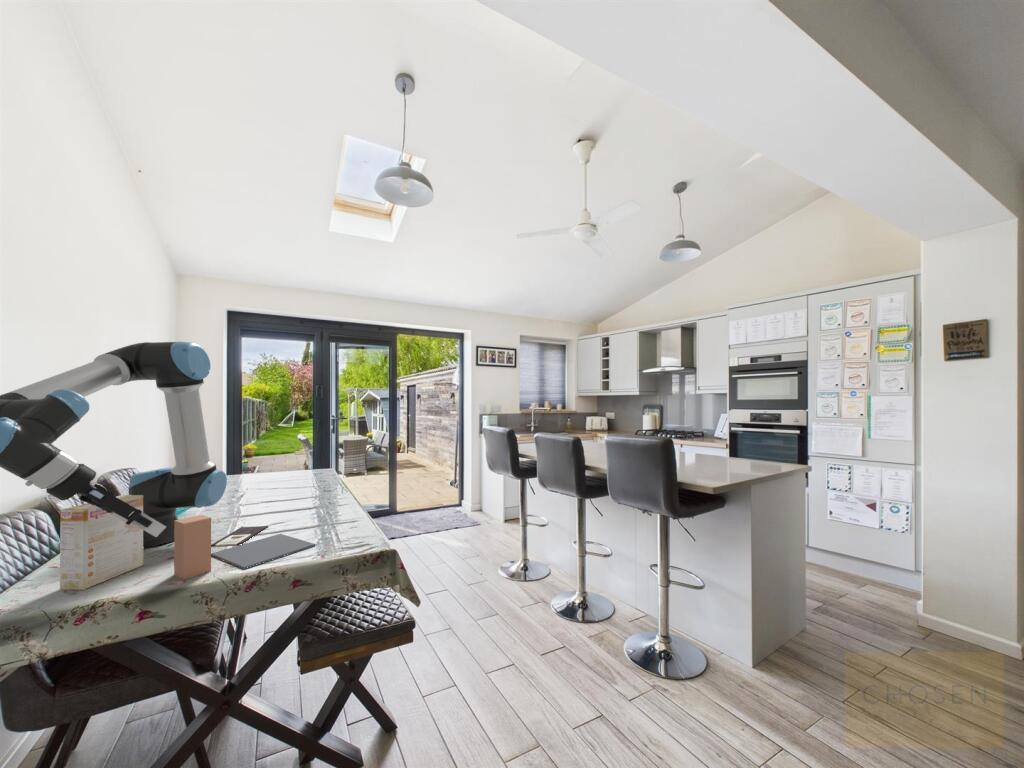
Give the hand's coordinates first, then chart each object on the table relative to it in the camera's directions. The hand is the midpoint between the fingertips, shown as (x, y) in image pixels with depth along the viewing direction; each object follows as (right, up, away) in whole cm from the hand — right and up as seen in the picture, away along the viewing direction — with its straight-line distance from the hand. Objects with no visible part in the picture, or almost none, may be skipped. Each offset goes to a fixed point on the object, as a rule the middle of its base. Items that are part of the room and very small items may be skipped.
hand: (150, 527), depth 102 cm
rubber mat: (+15, -15, +22) cm, 30 cm away
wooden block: (+5, -14, +7) cm, 17 cm away
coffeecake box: (-17, -15, +6) cm, 24 cm away
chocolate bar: (-1, -16, +36) cm, 40 cm away
